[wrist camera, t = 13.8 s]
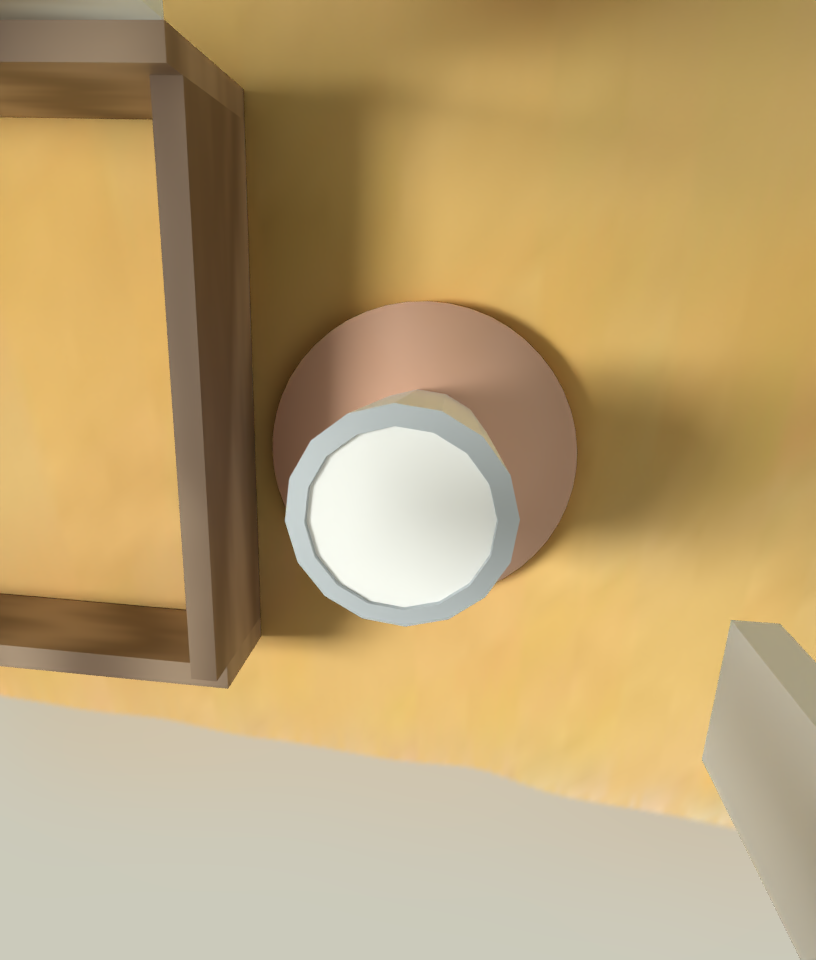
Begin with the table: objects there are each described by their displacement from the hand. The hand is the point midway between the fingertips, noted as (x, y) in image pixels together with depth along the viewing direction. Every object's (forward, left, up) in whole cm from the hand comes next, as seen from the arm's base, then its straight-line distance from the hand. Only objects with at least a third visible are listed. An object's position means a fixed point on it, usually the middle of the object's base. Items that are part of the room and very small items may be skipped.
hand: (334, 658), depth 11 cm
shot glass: (0, 0, -15) cm, 15 cm away
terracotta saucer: (0, 0, -15) cm, 15 cm away
